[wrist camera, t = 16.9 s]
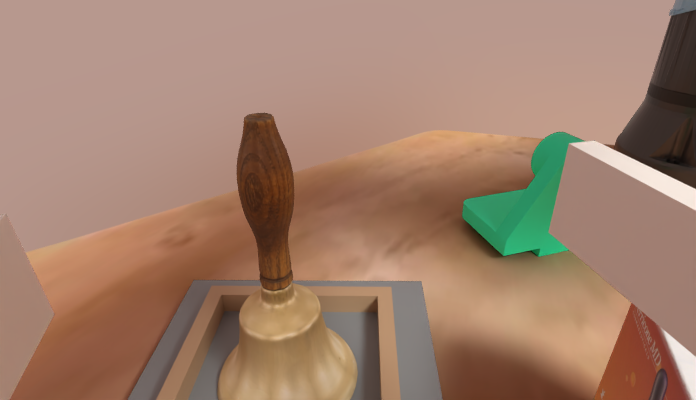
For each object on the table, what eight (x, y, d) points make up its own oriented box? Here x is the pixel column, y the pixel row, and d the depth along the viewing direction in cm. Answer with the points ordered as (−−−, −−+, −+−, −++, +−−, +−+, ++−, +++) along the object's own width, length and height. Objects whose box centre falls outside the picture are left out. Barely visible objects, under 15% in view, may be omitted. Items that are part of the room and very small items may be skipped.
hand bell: (215, 342, 28) (160, 103, 21) (336, 314, 30) (325, 87, 23) (221, 462, 21) (142, 167, 14) (377, 415, 23) (382, 137, 16)
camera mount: (556, 204, 46) (578, 111, 42) (614, 241, 40) (648, 136, 35) (456, 223, 43) (468, 124, 39) (501, 266, 37) (521, 154, 32)
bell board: (420, 291, 34) (422, 265, 33) (469, 572, 18) (476, 542, 17) (196, 289, 35) (190, 264, 34) (53, 559, 19) (32, 528, 18)
